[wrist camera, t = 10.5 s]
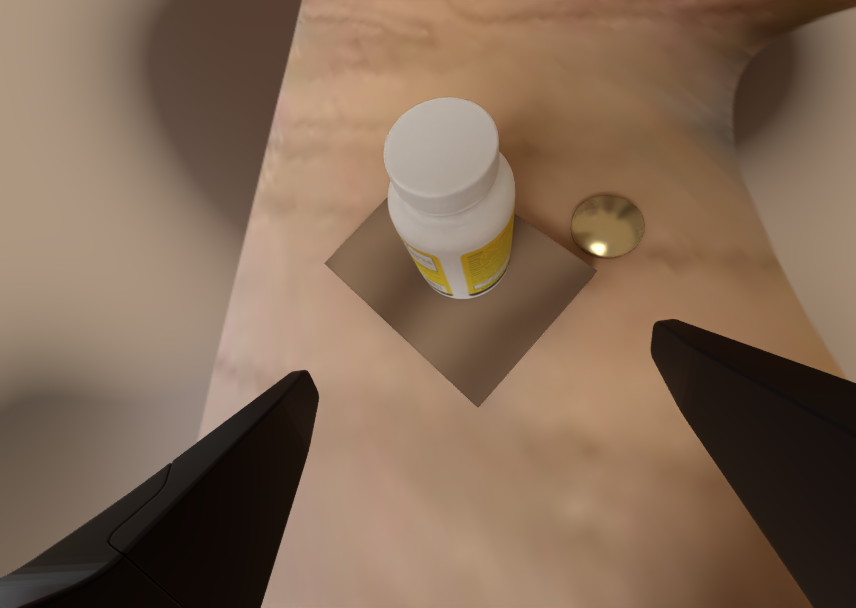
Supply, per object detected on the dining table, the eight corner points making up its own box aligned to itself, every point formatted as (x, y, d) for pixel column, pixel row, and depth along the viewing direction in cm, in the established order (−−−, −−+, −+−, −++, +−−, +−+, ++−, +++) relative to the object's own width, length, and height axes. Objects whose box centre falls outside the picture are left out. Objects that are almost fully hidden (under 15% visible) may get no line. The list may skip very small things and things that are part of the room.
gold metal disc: (656, 222, 21) (659, 219, 21) (613, 271, 21) (615, 269, 20) (598, 186, 22) (599, 183, 22) (557, 232, 22) (557, 230, 21)
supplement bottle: (512, 216, 21) (526, 73, 12) (507, 303, 20) (520, 217, 11) (424, 216, 22) (374, 84, 13) (414, 298, 21) (352, 217, 12)
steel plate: (591, 277, 21) (597, 270, 20) (478, 407, 20) (477, 407, 19) (431, 165, 25) (428, 154, 24) (332, 269, 24) (324, 263, 23)
